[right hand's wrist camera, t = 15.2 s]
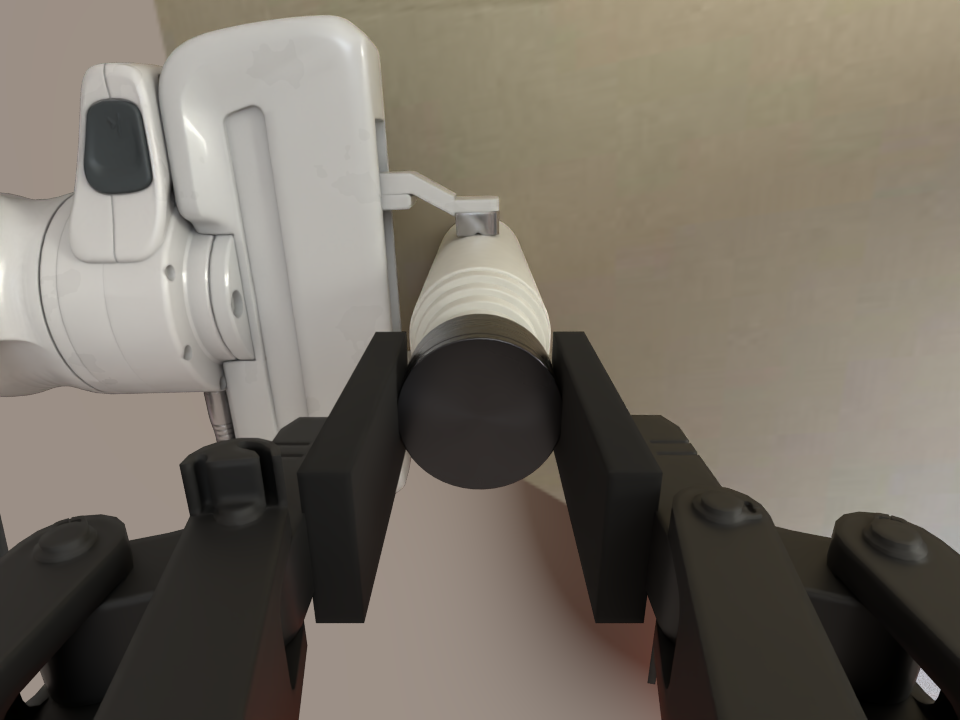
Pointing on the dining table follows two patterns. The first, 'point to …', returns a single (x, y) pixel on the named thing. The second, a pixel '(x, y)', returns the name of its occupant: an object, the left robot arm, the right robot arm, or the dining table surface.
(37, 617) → the right robot arm
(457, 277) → the bottle
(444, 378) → the cap
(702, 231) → the dining table surface
